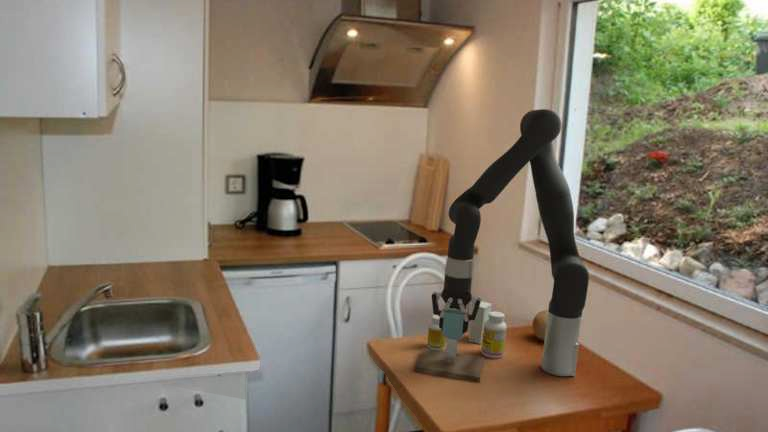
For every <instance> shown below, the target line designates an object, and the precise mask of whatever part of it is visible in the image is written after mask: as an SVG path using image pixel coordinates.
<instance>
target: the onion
mask: <svg viewBox="0 0 768 432" xmlns="http://www.w3.org/2000/svg"><path fill="white" fill-rule="evenodd" d="M547 317H548V309H544V310H541V311H539V312H538V313H537V314H535V316H534V318H533V319H532V325H531V326H532V327H531V328H532V331H533V333H534V335H535V337H537V339H539V340H541V341H543V342H544V341H545V333H546V325H547Z"/></svg>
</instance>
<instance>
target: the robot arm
mask: <svg viewBox="0 0 768 432" xmlns="http://www.w3.org/2000/svg"><path fill="white" fill-rule="evenodd" d="M561 130H562V119H561V117H560V115H559V114H558V113H557V112H555V111H554V110H551V109H548V108H544V109H543V108H542V109H541V108H539V109H534V110H533V109H532V110H529V111H528V112H526V113H525V114H524V115H523V116H522V119H520V124H519V131H520V137H519V138H518V139H517V140H516V141H515V143H514V144H513V145H512V146H511V147H510V148H509V149H508V150H507V151H506V152H504V153H503V154H502V155H501V156H500V157H498V158H497V159H496V160H494V162H492V164H491V165H489V166H488V167H487V168H486V169H485V171H483V173H482V174H481V175H480V176H479V178H478V179H477V180H476V181H475V182H474V184H473V185H471V186H470V187H469V188H467V189H466V190H465V191H464V192H462V193H461V194H460V195H458V197H457V198H455V200H454V201H453V202H452V203H451V205H450V206H449V208H448V217H449V220H450V221H451V222H452V224H455V225H454V232H453V235H452V236H450V238H449V240H448V247H447V248H448V249H447V256H446V257H447V258H446V262H445V267H444V280H443V289H442V291H441V292H437V291H433V293H432V294H431V302H432V303H431V304H432V311H433V315H438V316H439V317H440V321H439V328H441V330H443V319H444V312H445V311H447V310H448V308H451V309H454V308H455V309H458V310H461V313H462V314H464V322H463V332H462V334H463V335H465V333H467V332H468V330H469V322H471V320H475V318H476V315H477V312H478V309H479V306H480V302H481V301H482V298H480V297H478V298H477V297H473V296H472V293H471V292H472V281H473V270H474V252H475V243H476V239H477V237H478V234H479V231H480V227H481V223H482V222H481V221H482V216H481V211H480V209H481V208H482V207H483V206H485V205H488V204H491V203H492V202H494V201H495V200H496V199H497V198H498V197H499V195H500V194H501V193H502V192H503V191H504V189H505V188H506V187H507V186H508V185H509V184H510V182H511V181H512V180H513V179H514V178H515V177H516V176H517V174H519V173H520V171H521V170H522V169H523V168H524V167H525V166H526V165H527V164H528V163H529V164H530V165H529V166H530V169H531V176H532V181H533V187H534V192H535V198H536V203H537V208H538V212H539V213H538V214H539V217H540V220H541V223H542V227H543V230H544V233H545V235H546V238H547V243H548V247H549V256H550V267H551V269H550V270H551V275H552V279H553V287H552V294H551V299H550V301H548V309H547V310H548V317H547V325H546V333H545V341H543V342H544V343H543V350H542V351H543V352H542V357H541V369H542V370H543V371H544V372H546V373H547V374H549V375H553V376H558V377H575V375H576V368H577V361H578V360H577V359H578V354H579V347H580V345H579V338H580V331H581V325H582V318H583V311H584V308H585V305H586V301H587V296H588V288H589V280H590V276H589V275H590V274H589V271H588V269H587V268H586V266H585V265H584V263H583V261H582V258H581V256H580V253H579V250H578V247H577V243H576V238H575V213H574V210H575V209H574V204H573V199H572V194H571V190H570V186H569V183H568V180H567V178H566V176H565V174H564V173H563V171H562V168H561V167H560V165H559V163H558V160H557V158H556V155H555V152H554V151H555V150H554V142H553V141H554V140H556V139H557V137H558V136H559V135H560V133H561ZM440 299H442V300H443V302H444V303H445V304H444V306H443V308H442V310H441V309H440V307H439V301H440ZM470 302H471V303H472V306H474V309H473V313H472V312H471V314H469V311H468V307H467V305H468V304H469V303H470Z"/></svg>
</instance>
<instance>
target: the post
mask: <svg viewBox="0 0 768 432" xmlns="http://www.w3.org/2000/svg"><path fill="white" fill-rule="evenodd" d="M458 341H459V339H454V338H447V337H446V342H445V352H446V354H445V363H447V364H453V365H455V362H456V353H457V350H458Z"/></svg>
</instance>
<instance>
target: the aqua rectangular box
mask: <svg viewBox="0 0 768 432" xmlns="http://www.w3.org/2000/svg"><path fill="white" fill-rule="evenodd" d="M463 322H464V314H462V313H461V310H458V309H455V308H454V309H451V308H448V310H447V311H445V312H444V319H443V330H442V337H446V339H447V338H454V339H458V340H462V339H463V336H464V334H462V332H463Z"/></svg>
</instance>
